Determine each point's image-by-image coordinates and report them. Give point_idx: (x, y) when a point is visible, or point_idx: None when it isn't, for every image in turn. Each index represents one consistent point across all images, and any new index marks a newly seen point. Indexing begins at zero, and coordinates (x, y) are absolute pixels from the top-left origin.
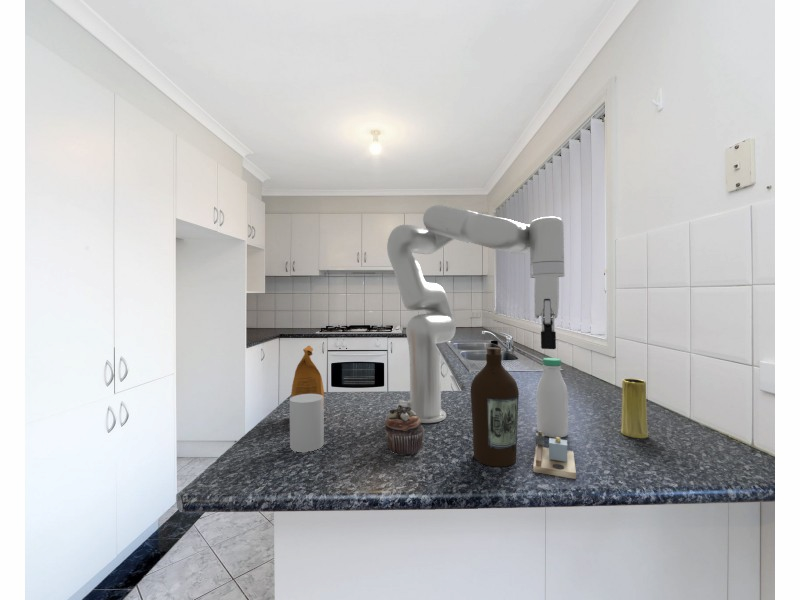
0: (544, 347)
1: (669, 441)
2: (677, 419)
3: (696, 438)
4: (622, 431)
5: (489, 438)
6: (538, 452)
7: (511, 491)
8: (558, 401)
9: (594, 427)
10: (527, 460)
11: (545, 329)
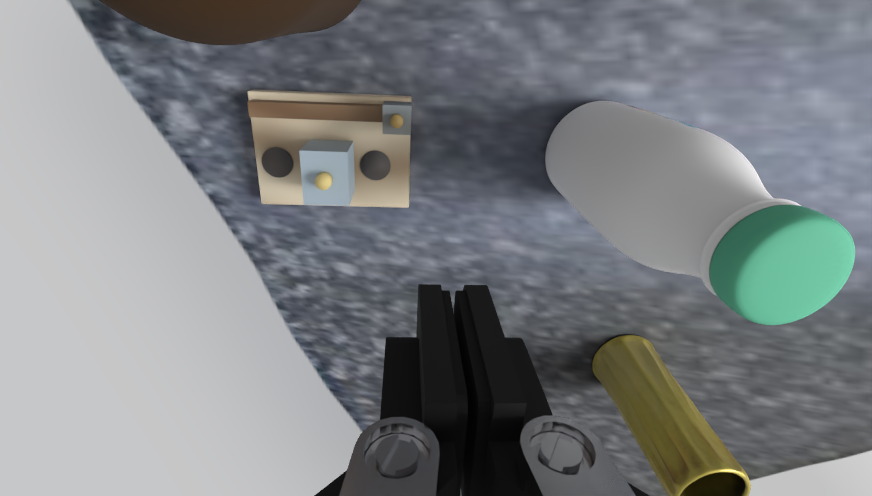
0: (418, 312)
1: (587, 414)
2: (753, 459)
3: (618, 460)
4: (622, 340)
5: None
6: (312, 109)
7: (94, 28)
8: (590, 213)
9: (667, 276)
10: (327, 69)
11: (335, 494)
